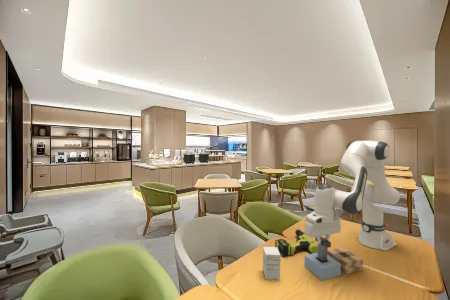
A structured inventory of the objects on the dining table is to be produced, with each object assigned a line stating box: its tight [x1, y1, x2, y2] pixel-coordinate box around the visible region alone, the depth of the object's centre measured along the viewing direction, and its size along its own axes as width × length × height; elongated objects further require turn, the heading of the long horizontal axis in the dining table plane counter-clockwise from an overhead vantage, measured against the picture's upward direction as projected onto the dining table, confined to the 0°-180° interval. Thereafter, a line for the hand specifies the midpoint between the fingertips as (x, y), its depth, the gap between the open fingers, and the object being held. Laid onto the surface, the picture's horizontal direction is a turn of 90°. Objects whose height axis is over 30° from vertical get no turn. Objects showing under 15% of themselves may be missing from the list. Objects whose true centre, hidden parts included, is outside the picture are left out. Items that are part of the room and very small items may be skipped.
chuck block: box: [303, 252, 342, 281], centre depth 108 cm, size 12×12×6 cm
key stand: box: [327, 247, 364, 275], centre depth 113 cm, size 12×12×6 cm
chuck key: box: [314, 236, 332, 263], centre depth 108 cm, size 8×3×13 cm, turn 18°
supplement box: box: [262, 246, 281, 280], centre depth 104 cm, size 7×7×13 cm
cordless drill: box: [274, 229, 318, 258], centre depth 134 cm, size 7×25×25 cm
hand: (322, 242), depth 108 cm, fingers closed on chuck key, 2 cm apart
